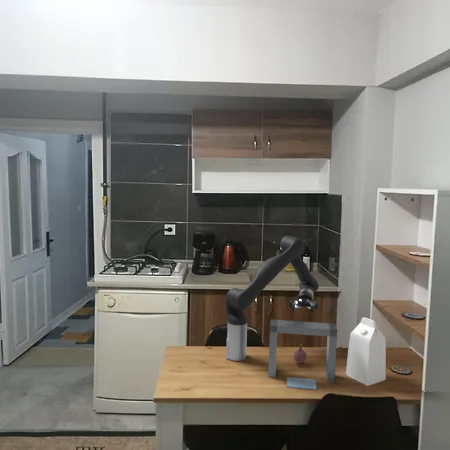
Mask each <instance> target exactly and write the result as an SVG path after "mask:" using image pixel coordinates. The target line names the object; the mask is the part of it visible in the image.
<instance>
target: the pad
mask: <svg viewBox="0 0 450 450" xmlns="http://www.w3.org/2000/svg"><path fill="white" fill-rule="evenodd" d="M286 388H288V389H289V388H290V389H291V388H292V389H299V388H301V389H302V390H310V389H313V390H314V391H317V389H318V388H317V381H316V379H312V378H300V377H299V378H298V377H288V376H287V377H286ZM313 390H312V391H313Z"/></svg>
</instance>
